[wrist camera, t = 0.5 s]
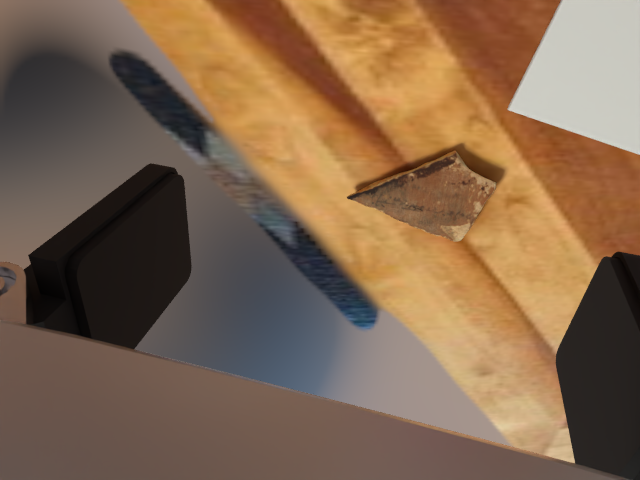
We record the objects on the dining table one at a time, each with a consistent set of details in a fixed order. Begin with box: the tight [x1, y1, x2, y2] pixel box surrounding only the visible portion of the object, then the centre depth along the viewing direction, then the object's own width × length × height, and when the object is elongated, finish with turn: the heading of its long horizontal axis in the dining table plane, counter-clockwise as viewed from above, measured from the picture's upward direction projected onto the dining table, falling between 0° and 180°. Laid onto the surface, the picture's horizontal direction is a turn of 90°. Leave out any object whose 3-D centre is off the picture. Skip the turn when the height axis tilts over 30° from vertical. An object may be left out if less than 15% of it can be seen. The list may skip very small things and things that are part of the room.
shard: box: [347, 151, 496, 241], centre depth 42 cm, size 11×8×2 cm
